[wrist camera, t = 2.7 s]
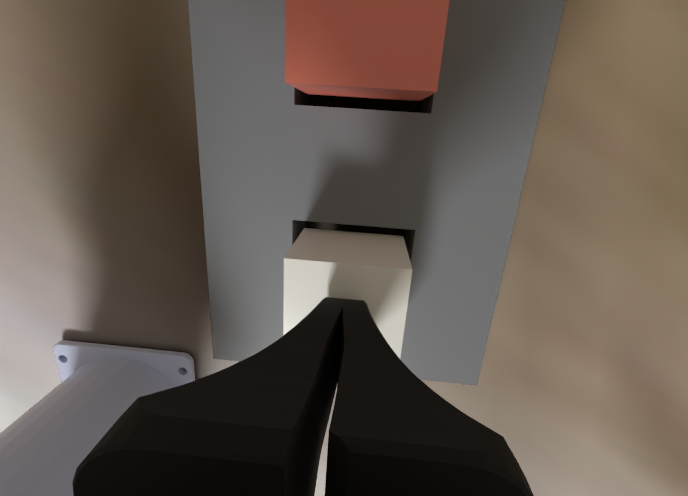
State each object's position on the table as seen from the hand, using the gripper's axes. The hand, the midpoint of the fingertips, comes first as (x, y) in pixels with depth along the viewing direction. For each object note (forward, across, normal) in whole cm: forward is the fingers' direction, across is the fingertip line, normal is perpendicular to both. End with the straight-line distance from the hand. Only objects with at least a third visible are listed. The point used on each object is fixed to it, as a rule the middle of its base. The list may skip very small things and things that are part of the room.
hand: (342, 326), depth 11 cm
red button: (+4, 0, -9) cm, 10 cm away
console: (+6, 0, -4) cm, 8 cm away
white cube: (+4, 0, 0) cm, 4 cm away
